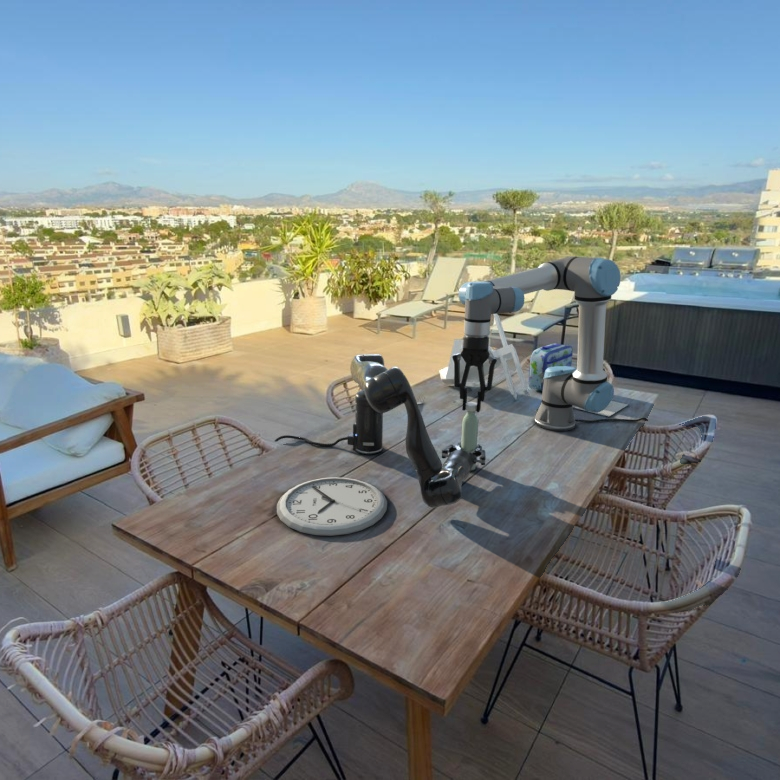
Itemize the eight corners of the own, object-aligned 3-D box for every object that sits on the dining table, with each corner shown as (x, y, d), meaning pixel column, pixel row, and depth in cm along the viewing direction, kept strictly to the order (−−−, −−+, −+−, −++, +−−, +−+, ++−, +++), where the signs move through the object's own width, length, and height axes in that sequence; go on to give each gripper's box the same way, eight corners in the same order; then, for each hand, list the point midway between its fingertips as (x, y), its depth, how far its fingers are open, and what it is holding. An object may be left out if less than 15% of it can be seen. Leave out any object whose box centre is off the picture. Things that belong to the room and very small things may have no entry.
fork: (408, 411, 216) (408, 407, 215) (419, 400, 230) (419, 396, 229) (414, 412, 215) (414, 407, 214) (425, 401, 229) (425, 396, 229)
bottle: (468, 462, 170) (472, 402, 164) (478, 468, 166) (483, 407, 160) (456, 466, 168) (460, 405, 161) (466, 471, 164) (471, 409, 158)
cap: (476, 407, 163) (477, 401, 162) (478, 411, 159) (478, 405, 159) (464, 407, 163) (464, 401, 163) (465, 411, 159) (466, 405, 159)
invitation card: (608, 416, 214) (573, 407, 224) (608, 416, 214) (573, 408, 224) (628, 404, 229) (594, 396, 238) (628, 405, 229) (594, 397, 238)
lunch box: (544, 395, 239) (549, 351, 233) (524, 390, 247) (528, 347, 240) (571, 384, 257) (577, 343, 251) (552, 380, 264) (556, 339, 258)
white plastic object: (461, 429, 252) (437, 405, 227) (444, 352, 274) (420, 323, 250) (535, 404, 240) (518, 377, 215) (510, 326, 262) (492, 293, 237)
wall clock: (392, 527, 129) (268, 531, 127) (391, 533, 130) (269, 537, 127) (383, 473, 158) (282, 475, 155) (383, 478, 158) (282, 480, 156)
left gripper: (482, 459, 149) (493, 438, 164) (434, 451, 154) (449, 431, 169) (480, 483, 151) (492, 460, 166) (433, 474, 156) (448, 452, 171)
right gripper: (506, 335, 155) (500, 409, 162) (451, 330, 160) (447, 403, 167) (503, 339, 148) (497, 417, 155) (445, 335, 153) (442, 410, 160)
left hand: (470, 445), depth 167 cm, fingers closed on bottle, 5 cm apart
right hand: (471, 409), depth 161 cm, fingers closed on cap, 4 cm apart
